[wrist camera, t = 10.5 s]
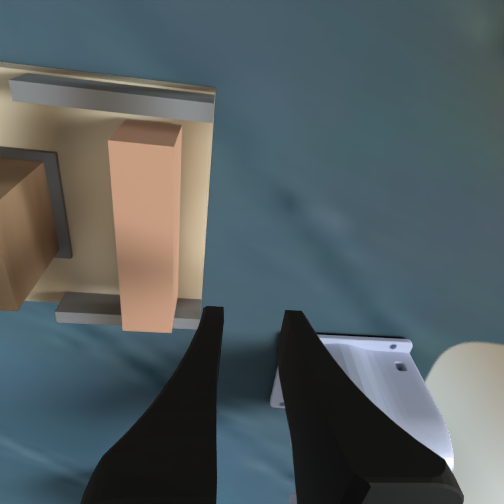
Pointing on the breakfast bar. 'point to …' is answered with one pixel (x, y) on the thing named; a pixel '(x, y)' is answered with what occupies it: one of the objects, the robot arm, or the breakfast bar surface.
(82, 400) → the breakfast bar surface
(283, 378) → the robot arm
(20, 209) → the block
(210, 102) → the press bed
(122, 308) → the block
